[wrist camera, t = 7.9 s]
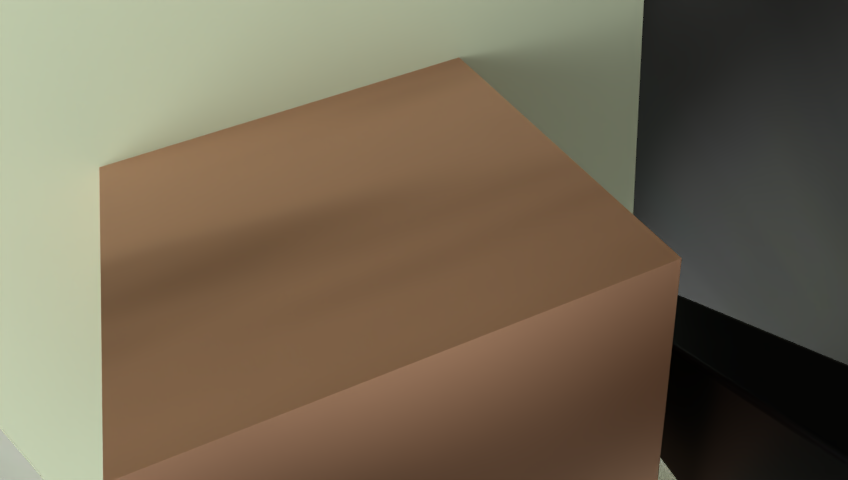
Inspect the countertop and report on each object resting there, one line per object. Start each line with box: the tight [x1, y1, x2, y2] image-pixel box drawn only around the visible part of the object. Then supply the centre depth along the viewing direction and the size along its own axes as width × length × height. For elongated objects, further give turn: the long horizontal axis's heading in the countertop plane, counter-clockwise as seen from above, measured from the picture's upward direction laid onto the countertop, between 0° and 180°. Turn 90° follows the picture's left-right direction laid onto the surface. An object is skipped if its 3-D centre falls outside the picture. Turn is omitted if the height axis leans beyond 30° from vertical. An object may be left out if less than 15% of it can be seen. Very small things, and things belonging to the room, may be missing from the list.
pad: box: [0, 0, 644, 480], centre depth 11 cm, size 11×11×1 cm
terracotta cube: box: [99, 58, 682, 480], centre depth 9 cm, size 5×5×5 cm
